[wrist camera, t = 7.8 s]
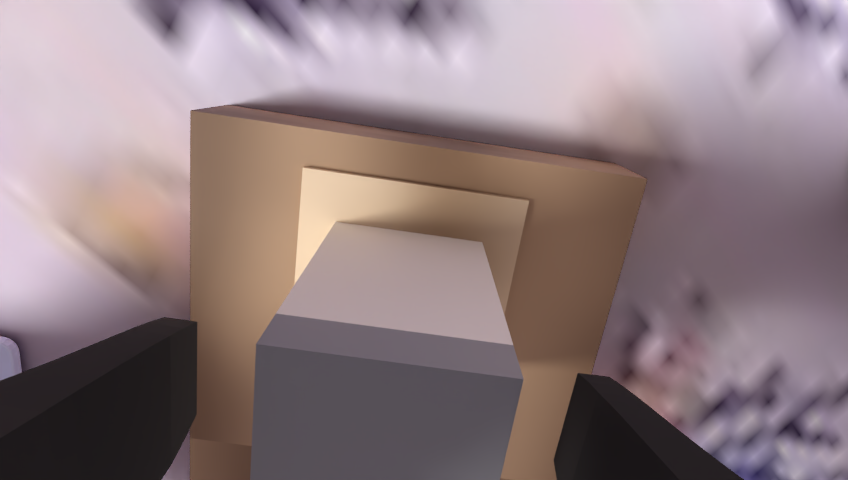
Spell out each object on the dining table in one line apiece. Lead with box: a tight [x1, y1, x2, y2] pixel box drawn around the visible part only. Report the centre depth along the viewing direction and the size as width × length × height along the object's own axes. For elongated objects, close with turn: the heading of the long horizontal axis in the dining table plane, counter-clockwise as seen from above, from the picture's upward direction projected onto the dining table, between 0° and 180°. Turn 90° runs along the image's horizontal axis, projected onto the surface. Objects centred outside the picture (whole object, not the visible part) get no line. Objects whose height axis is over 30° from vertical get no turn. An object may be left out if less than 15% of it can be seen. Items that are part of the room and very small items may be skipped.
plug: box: [250, 222, 524, 480], centre depth 11 cm, size 4×4×6 cm
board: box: [190, 105, 647, 480], centre depth 17 cm, size 12×18×3 cm, turn 172°
